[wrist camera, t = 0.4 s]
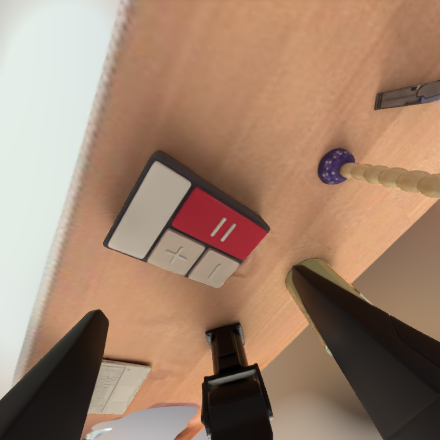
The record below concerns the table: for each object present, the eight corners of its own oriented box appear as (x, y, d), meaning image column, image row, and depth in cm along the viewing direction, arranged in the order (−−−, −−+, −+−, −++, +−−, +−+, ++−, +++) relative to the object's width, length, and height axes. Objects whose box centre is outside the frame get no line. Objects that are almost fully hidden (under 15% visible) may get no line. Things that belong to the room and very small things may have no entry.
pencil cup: (327, 287, 32) (380, 346, 23) (286, 298, 32) (323, 363, 23) (331, 253, 29) (396, 307, 20) (285, 265, 28) (329, 325, 19)
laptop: (124, 409, 40) (97, 524, 28) (58, 407, 36) (-6, 540, 24) (153, 363, 34) (133, 482, 22) (78, 354, 30) (7, 495, 18)
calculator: (219, 294, 24) (97, 250, 18) (214, 271, 27) (112, 228, 21) (275, 231, 21) (151, 152, 15) (260, 215, 24) (157, 147, 18)
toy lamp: (329, 139, 21) (682, 154, 6) (361, 148, 22) (729, 179, 7) (312, 180, 23) (546, 269, 8) (342, 186, 24) (599, 275, 9)
